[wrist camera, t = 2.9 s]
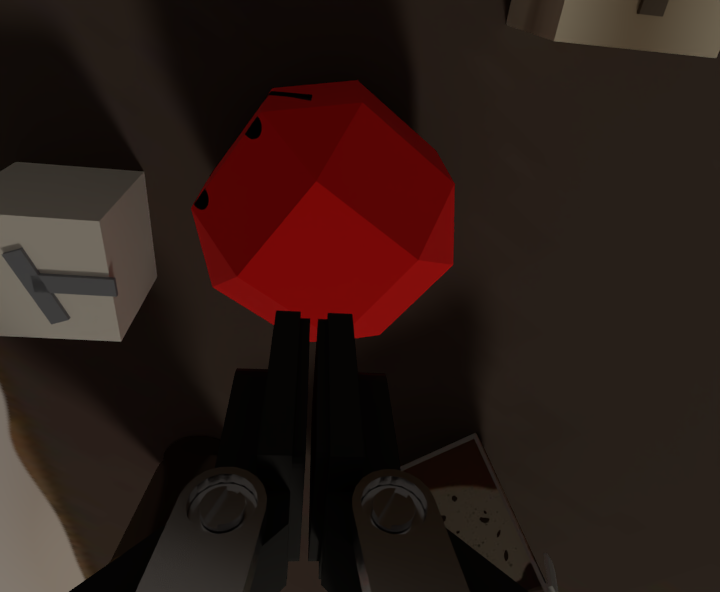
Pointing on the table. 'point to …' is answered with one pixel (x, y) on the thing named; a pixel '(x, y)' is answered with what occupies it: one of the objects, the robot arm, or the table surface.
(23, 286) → the off-white block numbered 7
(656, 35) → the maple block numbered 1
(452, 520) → the food container
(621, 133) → the table surface
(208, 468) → the cup with straw
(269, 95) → the ball
